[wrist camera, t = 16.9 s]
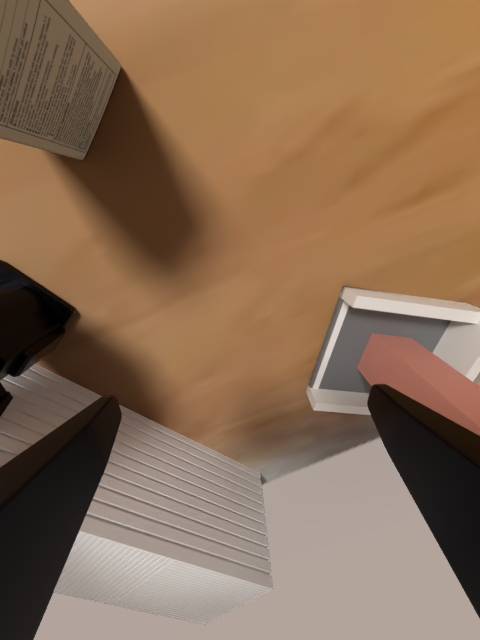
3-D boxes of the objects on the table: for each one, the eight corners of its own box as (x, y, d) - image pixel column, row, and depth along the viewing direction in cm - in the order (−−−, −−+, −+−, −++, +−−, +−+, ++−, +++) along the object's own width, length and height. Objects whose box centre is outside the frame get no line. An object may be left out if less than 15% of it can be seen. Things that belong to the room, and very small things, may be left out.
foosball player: (356, 367, 24) (505, 555, 11) (371, 333, 22) (569, 506, 9) (393, 371, 24) (579, 557, 11) (411, 337, 22) (653, 511, 10)
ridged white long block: (-30, 412, 25) (-193, 540, 15) (1, 345, 22) (-182, 453, 12) (212, 508, 35) (205, 625, 25) (260, 471, 31) (273, 589, 22)
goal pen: (306, 392, 25) (318, 422, 22) (342, 285, 20) (367, 302, 17) (408, 401, 26) (436, 432, 23) (467, 303, 21) (515, 322, 18)
